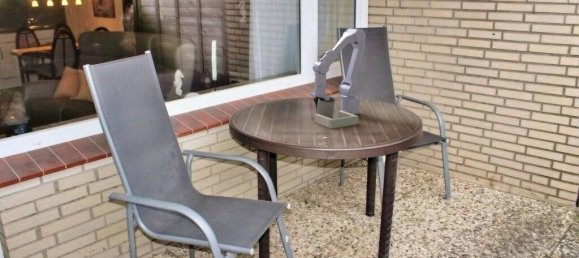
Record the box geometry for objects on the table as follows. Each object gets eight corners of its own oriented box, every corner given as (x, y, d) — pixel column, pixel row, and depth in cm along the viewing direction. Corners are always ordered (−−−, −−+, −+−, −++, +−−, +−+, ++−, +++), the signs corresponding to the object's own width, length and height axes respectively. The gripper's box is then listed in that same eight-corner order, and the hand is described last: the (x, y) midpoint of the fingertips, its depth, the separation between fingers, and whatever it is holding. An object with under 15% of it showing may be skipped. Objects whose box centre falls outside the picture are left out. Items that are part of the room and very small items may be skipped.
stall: (340, 117, 246) (340, 110, 245) (358, 124, 235) (358, 116, 234) (314, 122, 238) (314, 114, 237) (331, 128, 227) (331, 120, 226)
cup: (331, 121, 240) (334, 103, 236) (315, 119, 241) (317, 100, 237) (333, 115, 248) (335, 97, 243) (317, 113, 249) (319, 95, 244)
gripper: (305, 83, 247) (304, 109, 251) (321, 88, 235) (320, 115, 239) (317, 82, 251) (316, 108, 254) (333, 87, 239) (332, 114, 242)
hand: (319, 111), depth 247 cm, fingers closed, pressing on cup
